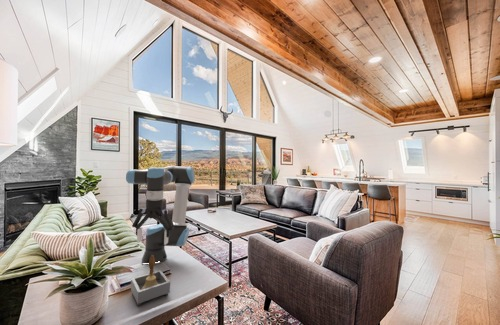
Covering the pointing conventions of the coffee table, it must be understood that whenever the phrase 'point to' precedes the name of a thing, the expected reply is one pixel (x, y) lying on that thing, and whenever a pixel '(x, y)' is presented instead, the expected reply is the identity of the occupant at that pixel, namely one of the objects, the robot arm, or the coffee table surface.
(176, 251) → the coffee table surface
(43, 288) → the coffee table surface
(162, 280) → the grey footed planter box
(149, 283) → the hand bell
